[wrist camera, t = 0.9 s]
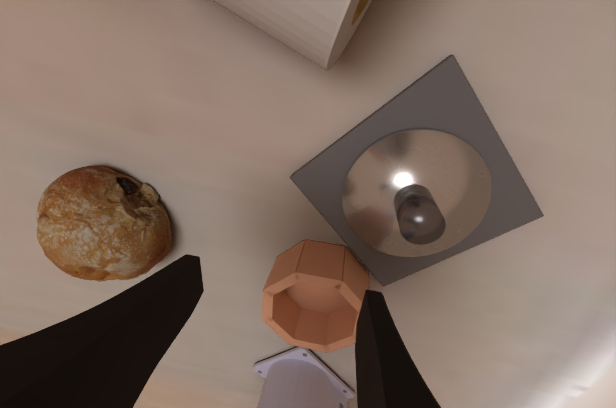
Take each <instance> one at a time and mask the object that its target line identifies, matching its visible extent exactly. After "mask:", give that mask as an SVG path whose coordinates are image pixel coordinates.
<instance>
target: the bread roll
mask: <svg viewBox="0 0 616 408" xmlns="http://www.w3.org/2000/svg"><path fill="white" fill-rule="evenodd" d="M158 199H159V194H158V193H157V192H156V191H155V190H154V189H153V188H152V187H150V186H148V185H147V184H145V183H143V184H142V183H140V182H138V181H136V180H135V179H133V178H131V177H129V176H126V175H124V174H121V173H118V172H115V171H114V170H112V169H110V168H108V167H104V166H87V167H81V168H78V169H74V170H72V171H69V172H67V173H65V174H64V175H62V176H60V177H59V178H58V179H57V180H55V181H54V182H52V183H51V184H50V185H49V186H48V187H47V188H46V190H45V191H44V192H43V194H42V197H41V199H40V202H39V205H38V210H37V223H38V226H37V238H38V241H39V243H40V245H41V247H42V249H43V251H44V253H45V255H46V256H47V257H48V258H49V259H50V260H51V261H52V262H53V263H54V264H55V265H56V266H57V267H58V268H59V269H61V270H62V271H64V272H65V273H67V274H69V275H71V276H73V277H77V278H80V279H85V280H96V281H99V282H101V281H106V280H115V279H120V280H129V279H133V278H136V277H139V276H140V275H142V274H145V273H147V272H148V271H149V270H150V269H151V268H152V267H154V266H155V265H156V264H157V263H158V262H160V261H161V260H163V258H164V257H165V256H166V254H167V253H168V251H169V249H170V248H171V237H172V233H171V228H170V221H169V218H168V215H167V212H166V210H165V208H164V207H163V206H162V205H161V203H160V202H159V201H158Z"/></svg>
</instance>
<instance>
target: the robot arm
mask: <svg viewBox="0 0 616 408" xmlns="http://www.w3.org/2000/svg"><path fill="white" fill-rule="evenodd" d="M203 291H204V290H203V282H202V273H201V265H200V257H198V256H192V255H187V254H186V255H184V256H183V257H181V258H179V259H178V260H176V261H174V262H173V263H171V264H169V265H168V266H166V267H164V268H163V269H161V270H160V271H158V272H156V273H155V274H153V275H151V276H150V277H148V278H146V279H145V280H143V281H141V282H140V283H138V284H136V285H134V286H132V287H131V288H129V289H127V290H125V291H123V292H122V293H120V294H118V295H116V296H114V297H113V298H111V299H109V300H107V301H105V302H103V303H101V304H99V305H97V306H95V307H93V308H91V309H89V310H87V311H84V312H82V313H80V314H78V315H76V316H74V317H71V318H69V319H67V320H64V321H62V322H60V323H57V324H55V325H52V326H50V327H48V328H45V329H43V330H40V331H38V332H36V333H33V334H30V335H28V336H25V337H22V338H20V339H17V340H14V341H12V342H9V343H6V344H3V345H0V408H133V406H134V404H135V402H136V401H137V399H138V397H139V395H140V393H141V392H142V390H143V388H144V386H145V385H146V383H147V381H148V379H149V377H150V376H151V374H152V372H153V371H154V369H155V368H156V366H157V364H158V363H159V361H160V360H161V358H162V357H163V355H164V354H165V353H166V351H167V350H168V348H169V347H170V345H171V344H172V342H173V341H174V339H175V338H176V336H177V335H178V334H179V332H180V331H181V329H182V328H183V326H184V325H185V323H186V322H187V320H188V319H189V317H190V316H191V314H192V313H193V311H194V309H195V307H196V305H197V303H198V301H199V299H200V297H201V295H202V293H203ZM355 358H356V380H357V401H358V408H441V407H440V405H439V404H438V402H437V401H436V399H435V398H434V396H433V395H432V393H431V391H430V390H429V388H428V387H427V385H426V383H425V382H424V380H423V378H422V376H421V375H420V373H419V371H418V369H417V368H416V366H415V364H414V362H413V360H412V358H411V357H410V355H409V353H408V351H407V349H406V347H405V345H404V343H403V341H402V339H401V337H400V335H399V333H398V330H397V328H396V326H395V324H394V322H393V319H392V317H391V315H390V312H389V310H388V307H387V305H386V302H385V299H384V297H383V294H382V293H381V292H376V291H371V290H366V291H365V294H364V298H363V302H362V305H361V309H360V313H359V316H358V320H357V325H356V342H355ZM253 370H254V371H255V372H257V373H258V374H259V375H260V376H261V377H263V378H264V379H265V383H264V386H263V390H262V393H261V396H260V400H259V403H258V406H257V408H348V400H349V399H352V398H354V392H353V391H352V390H351V389H350V388H349V387H348V386H347V385H346V384H345V383H343V382H342V381H341V380H340V379H339V378H338V377H337V376H336V375H335V374H334V373H333V372H332V371H331V370H330V369H329V368H327V367H326V366H325V365H324V364H323V363H322V362H321V361H320V360H319V359H318V358H317V357H316V356H315V355H314V354H312V353H311V352H310V351H309V350H308V349H307V348H304V347H297V348H294V349H292V350H289V351H286V352H284V353H281V354H279V355H276V356H274V357H271V358H269V359H266V360H264V361H261V362H258V363H256V364H254V366H253Z"/></svg>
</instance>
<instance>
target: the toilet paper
mask: <svg viewBox="0 0 616 408" xmlns="http://www.w3.org/2000/svg"><path fill="white" fill-rule="evenodd" d="M214 1H215V2H217V3H218V4H220V5H222V6H223V7H225V8H227V9H228V10H230V11H231V12H233V13H235V14H236V15H238V16H240V17H241V18H243V19H244V20H246V21H248V22H249V23H251V24H252V25H254V26H256V27H257V28H259V29H261V30H262V31H264V32H265V33H267V34H269V35H270V36H272V37H273V38H275V39H277V40H278V41H280V42H282V43H283V44H285V45H286V46H288V47H290V48H291V49H293V50H295V51H296V52H298V53H299V54H301V55H303V56H304V57H306V58H307V59H309V60H311V61H312V62H314V63H316V64H317V65H319V66H320V67H322V68H324V69H325V70H327V71H329V70H330V69H331V68H332V67H333V65H334V64H335V63H336V61H337V60H338V58H339V57H340V55H341V54H342V52H343V51H344V49H345V47H346V46H347V44H348V42H349V41H350V39H351V37H352V36H353V34H354V32H355V30H356V29H357V27H358V25H359V23H360V22H361V20H362V18H363V16H364V15H365V13H366V11H367V9H368V7H369V5H370V4H371V2H372V0H214Z"/></svg>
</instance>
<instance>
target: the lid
mask: <svg viewBox="0 0 616 408" xmlns="http://www.w3.org/2000/svg"><path fill="white" fill-rule="evenodd" d="M491 190H492V185H491V177H490V174H489V170H488V168H487V166H486V164H485V162H484V160H483V159H482V157H481V156H480V154H479V153H478V152H477V151H476V150H475V149H474V148H473V147H472V146H470V145H469V144H468V143H466V142H465V141H464V140H462V139H461V138H459V137H457V136H455V135H453V134H451V133H449V132H446V131H443V130H439V129H433V128H421V127H420V128H409V129H403V130H399V131H396V132H393V133H390V134H388V135H385V136H383V137H381V138H379V139H378V140H376V141H375V142H373V143H371V144H370V145H369V146H368V147H367V148H365V149H364V150H363V151H362V152H361V153H360V154H359V155H358V157H357V158H356V159H355V161H354V162H353V163H352V165H351V167H350V169H349V171H348V173H347V176H346V178H345V182H344V187H343V197H342V202H343V210H344V214H345V217H346V220H347V222H348V224H349V226H350V228H351V229H352V230H353V232H354V233H355V234H356V235H357V236H358V237H359V238H360V239H361V240H362V241H363V242H365V243H366V244H367V245H369V246H370V247H372V248H374V249H376V250H378V251H380V252H383V253H386V254H390V255H394V256H401V257H419V256H426V255H431V254H435V253H438V252H441V251H444V250H446V249H448V248H450V247H452V246H454V245H456V244H458V243H459V242H461V241H462V240H464V239H465V238H466V237H467V236H468V235H470V234H471V233H472V232H473V230H474V229H475V228H476V227H477V226H478V225H479V223H480V222H481V221H482V219H483V217H484V215H485V213H486V211H487V209H488V206H489V203H490V199H491Z"/></svg>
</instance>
